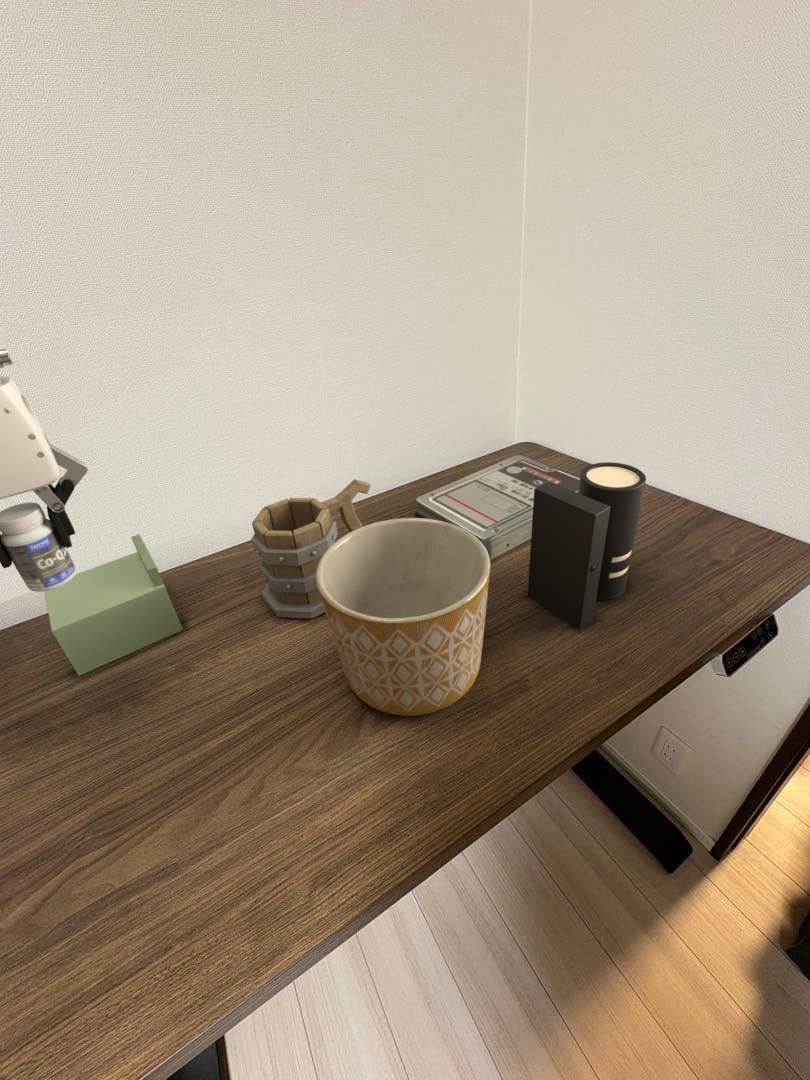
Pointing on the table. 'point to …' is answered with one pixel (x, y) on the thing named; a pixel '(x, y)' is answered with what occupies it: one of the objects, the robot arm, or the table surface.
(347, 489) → the tankard
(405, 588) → the planter
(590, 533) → the light fixture
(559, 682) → the table surface
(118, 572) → the green block with fin
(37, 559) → the pill bottle
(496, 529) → the hard drive
